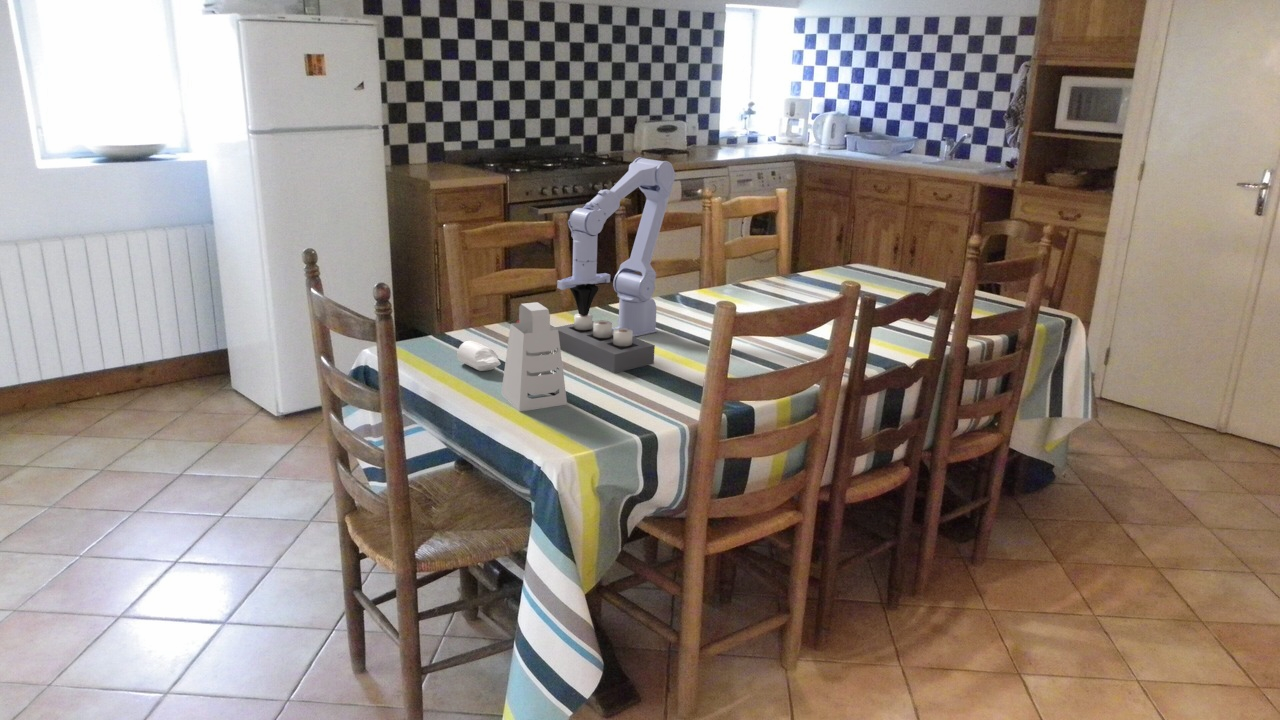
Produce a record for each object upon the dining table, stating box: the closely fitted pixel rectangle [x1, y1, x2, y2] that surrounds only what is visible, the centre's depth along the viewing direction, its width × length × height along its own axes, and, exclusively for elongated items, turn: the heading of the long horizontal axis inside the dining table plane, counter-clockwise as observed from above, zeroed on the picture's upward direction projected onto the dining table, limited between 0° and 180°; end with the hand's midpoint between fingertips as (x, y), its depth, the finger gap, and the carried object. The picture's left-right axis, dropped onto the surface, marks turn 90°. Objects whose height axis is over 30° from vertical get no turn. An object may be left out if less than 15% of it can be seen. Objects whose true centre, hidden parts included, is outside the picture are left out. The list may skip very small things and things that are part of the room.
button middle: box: [593, 320, 613, 338], centre depth 223 cm, size 4×4×3 cm
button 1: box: [573, 312, 594, 330], centre depth 228 cm, size 4×4×3 cm
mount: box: [554, 320, 656, 374], centre depth 224 cm, size 12×24×4 cm, turn 41°
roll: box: [456, 340, 502, 372], centre depth 210 cm, size 6×12×6 cm, turn 41°
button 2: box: [613, 328, 633, 346], centre depth 217 cm, size 4×4×3 cm
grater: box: [500, 301, 568, 412], centre depth 192 cm, size 10×10×20 cm
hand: (583, 314), depth 227 cm, fingers closed
